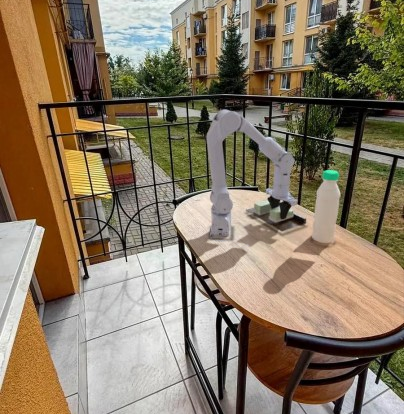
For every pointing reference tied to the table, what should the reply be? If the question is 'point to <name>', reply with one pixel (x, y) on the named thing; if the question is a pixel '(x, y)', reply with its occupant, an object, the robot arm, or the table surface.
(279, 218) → the pale green block
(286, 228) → the dark grey tray
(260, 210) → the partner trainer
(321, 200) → the water bottle
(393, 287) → the table surface
